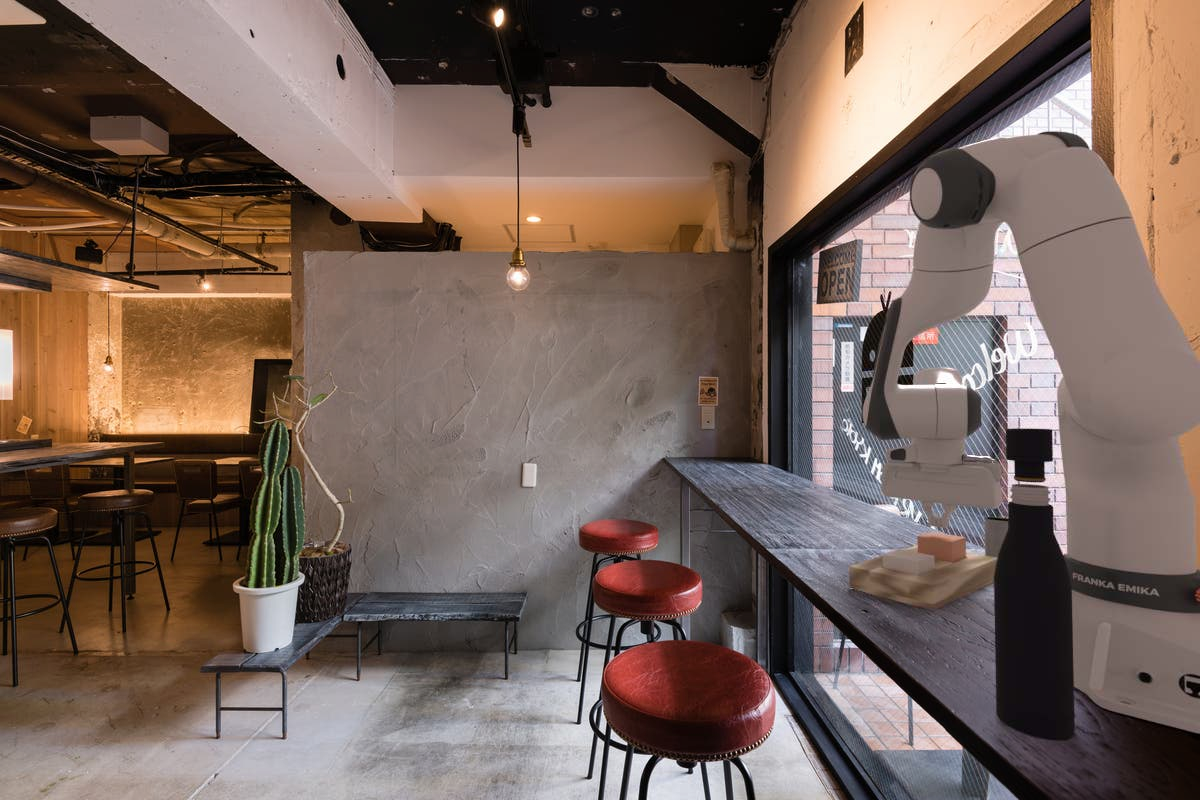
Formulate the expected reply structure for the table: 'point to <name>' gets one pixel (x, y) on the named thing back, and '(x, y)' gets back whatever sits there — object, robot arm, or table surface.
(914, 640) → the table surface
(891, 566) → the beige block
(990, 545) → the planter
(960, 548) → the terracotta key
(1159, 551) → the robot arm
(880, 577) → the light brown flat block
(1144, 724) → the table surface
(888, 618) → the table surface
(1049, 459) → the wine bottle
